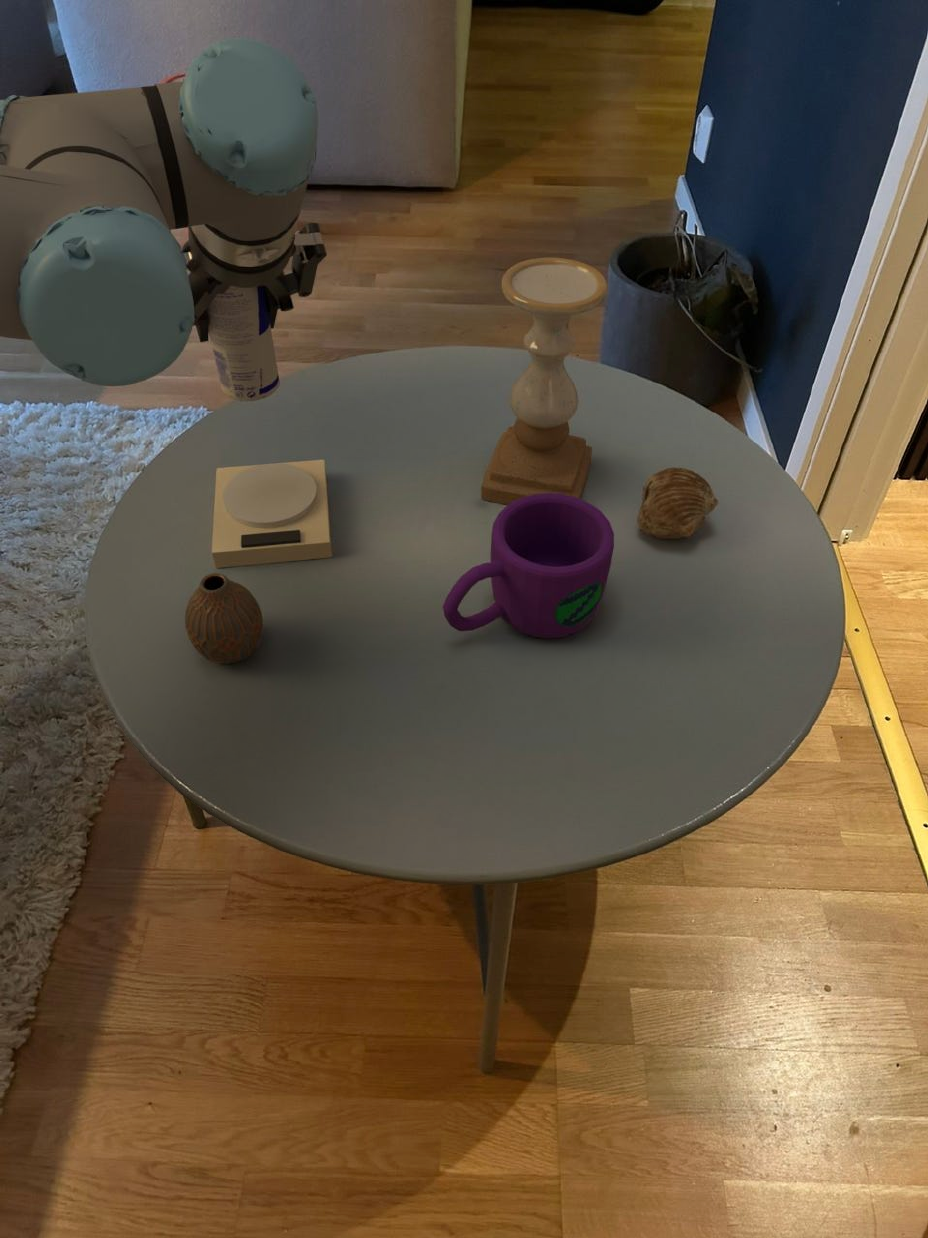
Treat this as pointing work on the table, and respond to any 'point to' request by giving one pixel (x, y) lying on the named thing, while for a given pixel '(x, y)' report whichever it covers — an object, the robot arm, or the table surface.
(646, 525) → the seashell
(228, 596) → the vase
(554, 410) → the candle holder
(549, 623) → the mug
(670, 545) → the table surface
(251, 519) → the kitchen scale
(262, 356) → the beverage can
